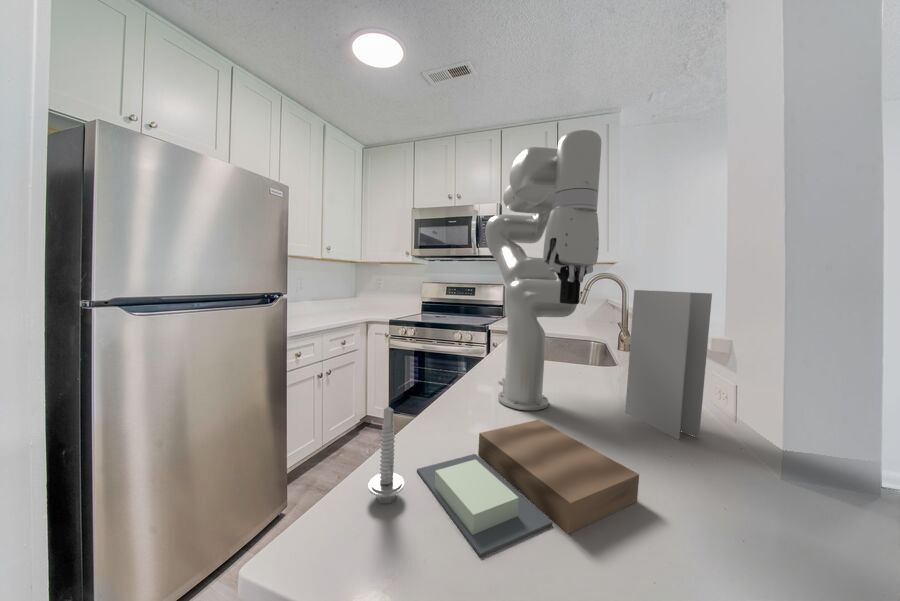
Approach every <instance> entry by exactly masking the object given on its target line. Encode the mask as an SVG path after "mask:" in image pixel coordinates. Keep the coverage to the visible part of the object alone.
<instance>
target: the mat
mask: <svg viewBox="0 0 900 601" xmlns="http://www.w3.org/2000/svg"><path fill="white" fill-rule="evenodd" d="M475 459H476V460H477V461H478V462H479V463H480V464H481V465H482V466H484V467H485V468H486V469H487V470H488V471H489V472H490V473H492V474H493V475H494V476H495V477H496V478H497V479H498V480H499V481H501V482H502V483H503V484H504V485H505V486H506V487H507V488H508V489H510V490H511V491H512V492H513V493H514V494H515V495H516V496H518V497H519V502H518V516H517V517H514V518H512V519H510V520H507V521H505V522H502V523H500V524H498V525H495V526H493V527H490V528H488V529H486V530H483V531H481V532H478V533H476V534H474V535H472V534H471V532H470V531H469V530H468V528H467V527H466V526H465V525H464V523H463V522H462V521H461V520H460V518H459V517H458V516H457V515H456V513H455V512H454V511H453V510H452V508H451V507H450V506H449V505H448V503H447V502H446V501H445V500H444V498H443V497H442V496H441V494H440V493H439V492H438V491H437V489H436V488H435V471H436V470H439V469H443V468H446V467H450V466H454V465H457V464H461V463H464V462H468V461H471V460H475ZM416 473H417V474H418V475H419V476H420V478H421V479H422V480H423V482H424V483H425V484H426V486H427V488H429V491H431V493H432V494H433V495H434V497H435V498H436V500H437V501H438V503H439V504H441V506H442V508H443V510H444V511H445V512H446V513H447V514H448V516H449V517H450V518H451V520H452V521H453V523H454V524H455V525H456V527H457V528H458V529H459V531H460V532H461V534H462V535H463V536H464V538H465V539H466V540H467V541H468V543H469V544H470V546H471V547H472V548H473V550H474V551H475V552H476V554H477V555H478V556H479V558H481V557H484V556H486V555H489V554H491V553H493V552H495V551H497V550H499V549H502V548H504V547H506V546H509V545H511V544H513V543H515V542H518V541H520V540H522V539H524V538H526V537H529V536H531V535H533V534H535V533H537V532H539V531H542V530H545V529H546V528H549V527H551V526H553V522H552V520H550V518H549V517H548V516H547V515H546V514H545V513H543V512H542V511H541V510H540V509H539V508H538V507H537V506H536V505H534V504H533V503H532V502H531V501H530V500H529V499H528V498H527V497H525V496H524V495H523V494H522V493H521V492H520V491H519V490H517V489H516V488H515V487H514V486H513V485H512V484H511V483H509V482H508V481H507V480H506V479H505V478H504V477H503V476H501V475H500V474H499V473H498V472H497V471H496V470H495V469H493V468H491V466H490V465H489V464H488V463H487V462H486V461H484V460H483V459H482V458H481V457H480V456H479V455H478V454H476V453H473V454H469V455H466V456H462V457H457V458H453V459H450V460H446V461H442V462H439V463H433V464H432V465H431V464H430V465H427V466H424V467H423V466H422V467H420V468H419V467H418V468H416Z"/></svg>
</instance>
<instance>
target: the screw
mask: <svg viewBox="0 0 900 601" xmlns="http://www.w3.org/2000/svg"><path fill="white" fill-rule="evenodd" d="M381 429H382V430H381V431H380V433H381V435H380V437H381V439H380V441H381V442H380V446H381V447H380V450H381V451H380V461H379V462H380V464H379V466H380V468H379V470H380V472H379V474H376V475H375V476H374V477H372V478H371V479H370V481H369V482H368V490H369V492H370V494H372V495H373V496H375V498H376V499H377V502H378V504H381V505H382V504H391V503H392V502H394V500H395V499H397V495H398V494H399V493H401V491H402V490H403V489H404V486H405V480H404V479H403V477H402V476H401V475H399V474H397V473H396V472H395V469H394V467H395V461H394V459H395V442H396V441H395V435H396V432H395V430H396V428H395V423H394V409H393V408H392V407H390V406H387V407H385V408H383V425H382V426H381Z"/></svg>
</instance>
